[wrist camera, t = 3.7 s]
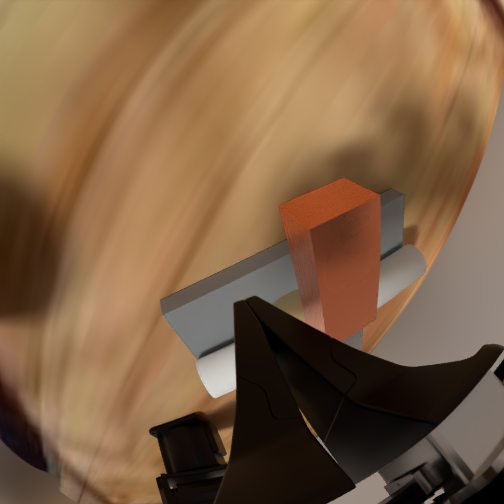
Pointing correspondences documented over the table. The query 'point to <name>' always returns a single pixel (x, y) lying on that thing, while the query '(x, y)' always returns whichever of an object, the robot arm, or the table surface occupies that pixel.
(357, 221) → the valve lever
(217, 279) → the valve base
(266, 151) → the table surface
